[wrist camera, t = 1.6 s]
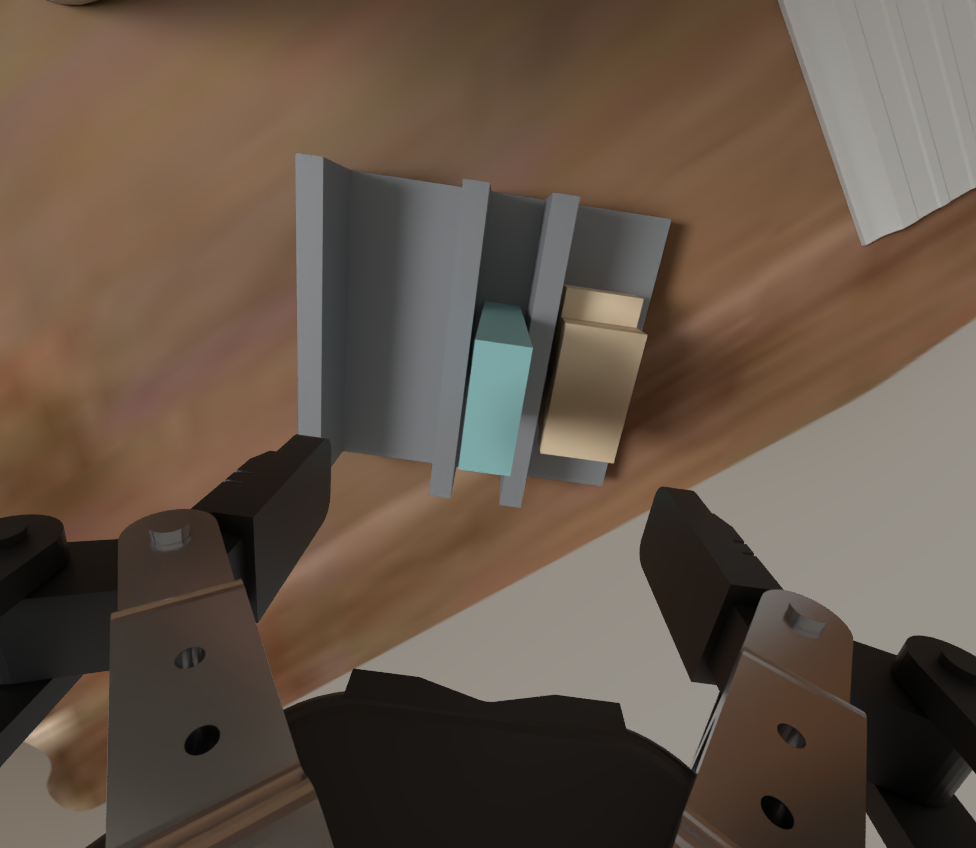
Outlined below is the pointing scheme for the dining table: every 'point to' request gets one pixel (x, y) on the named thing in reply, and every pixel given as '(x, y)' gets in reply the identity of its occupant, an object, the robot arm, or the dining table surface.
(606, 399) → the offcut top
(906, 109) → the baseboard molding
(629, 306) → the block
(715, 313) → the dining table surface
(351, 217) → the rack
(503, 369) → the teal slat
